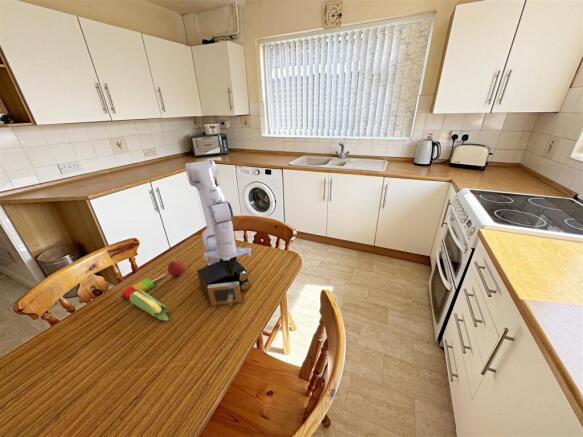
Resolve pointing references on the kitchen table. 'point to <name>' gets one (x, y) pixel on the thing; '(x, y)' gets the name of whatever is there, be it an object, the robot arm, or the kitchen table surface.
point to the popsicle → (141, 286)
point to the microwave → (222, 276)
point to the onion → (175, 268)
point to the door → (224, 293)
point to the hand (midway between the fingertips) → (231, 274)
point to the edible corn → (148, 304)
